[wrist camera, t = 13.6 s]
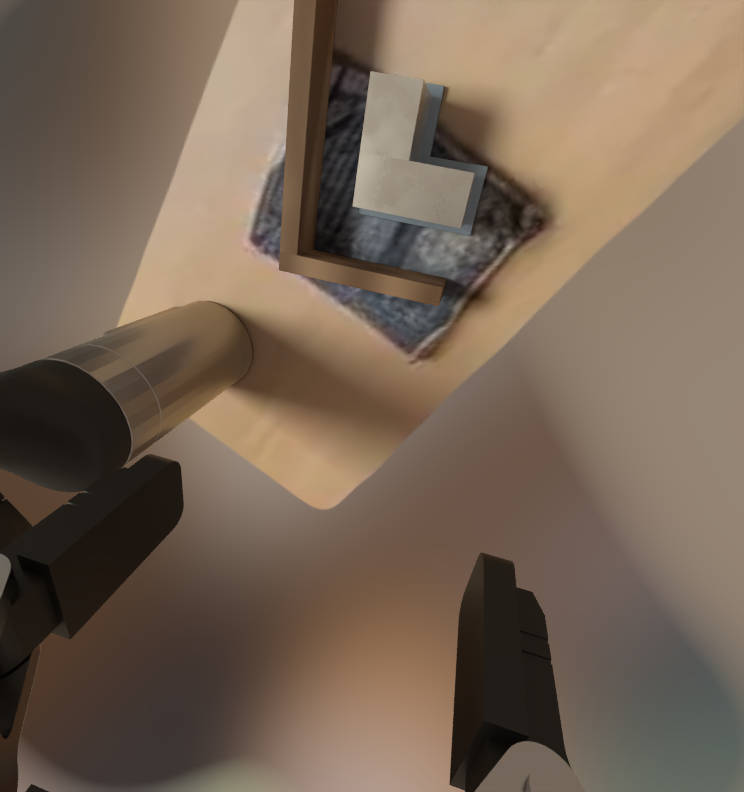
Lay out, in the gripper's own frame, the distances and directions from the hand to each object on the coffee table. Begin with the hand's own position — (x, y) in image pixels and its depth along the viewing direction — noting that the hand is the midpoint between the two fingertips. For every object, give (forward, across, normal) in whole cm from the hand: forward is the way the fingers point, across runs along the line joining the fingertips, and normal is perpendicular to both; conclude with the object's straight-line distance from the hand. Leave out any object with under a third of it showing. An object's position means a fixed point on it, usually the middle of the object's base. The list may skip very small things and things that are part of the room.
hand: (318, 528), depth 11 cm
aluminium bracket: (+29, +3, -10) cm, 31 cm away
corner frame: (+30, +6, -10) cm, 32 cm away
